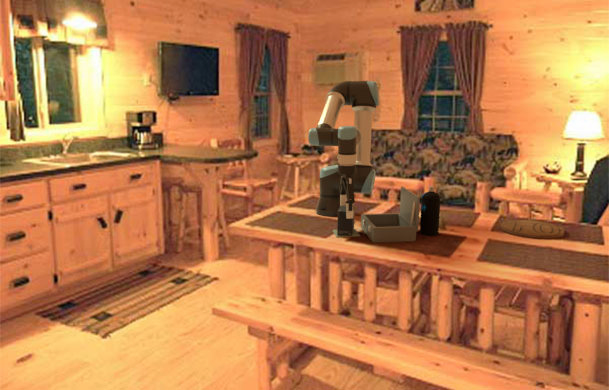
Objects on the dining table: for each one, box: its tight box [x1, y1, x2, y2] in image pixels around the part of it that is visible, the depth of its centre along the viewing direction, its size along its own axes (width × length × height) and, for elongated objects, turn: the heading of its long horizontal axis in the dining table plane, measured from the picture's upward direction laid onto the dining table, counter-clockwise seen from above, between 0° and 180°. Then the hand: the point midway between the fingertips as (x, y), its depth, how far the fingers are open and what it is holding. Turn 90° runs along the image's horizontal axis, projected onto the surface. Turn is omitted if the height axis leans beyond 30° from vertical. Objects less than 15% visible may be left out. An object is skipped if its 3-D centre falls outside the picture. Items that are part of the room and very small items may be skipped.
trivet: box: [500, 219, 565, 240], centre depth 220 cm, size 25×25×2 cm
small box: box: [336, 205, 356, 236], centre depth 216 cm, size 11×6×10 cm, turn 170°
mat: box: [332, 228, 361, 238], centre depth 217 cm, size 10×10×1 cm
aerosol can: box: [418, 185, 442, 237], centre depth 215 cm, size 8×8×20 cm
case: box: [360, 186, 421, 244], centre depth 214 cm, size 22×19×18 cm
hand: (346, 213), depth 216 cm, fingers open, 13 cm apart
